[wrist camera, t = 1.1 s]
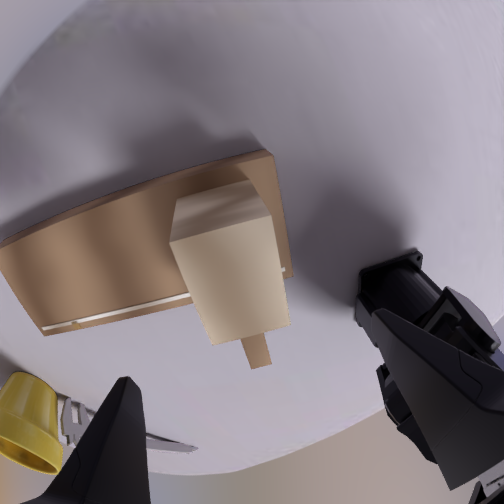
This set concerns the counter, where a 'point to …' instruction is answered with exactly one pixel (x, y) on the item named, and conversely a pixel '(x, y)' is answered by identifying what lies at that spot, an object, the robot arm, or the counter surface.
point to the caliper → (77, 430)
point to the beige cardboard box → (231, 266)
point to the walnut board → (123, 248)
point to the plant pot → (30, 424)
